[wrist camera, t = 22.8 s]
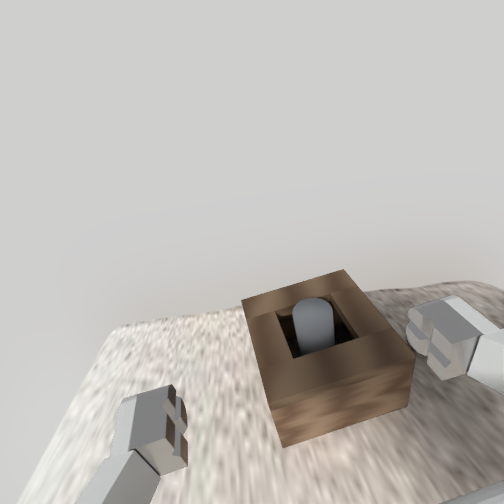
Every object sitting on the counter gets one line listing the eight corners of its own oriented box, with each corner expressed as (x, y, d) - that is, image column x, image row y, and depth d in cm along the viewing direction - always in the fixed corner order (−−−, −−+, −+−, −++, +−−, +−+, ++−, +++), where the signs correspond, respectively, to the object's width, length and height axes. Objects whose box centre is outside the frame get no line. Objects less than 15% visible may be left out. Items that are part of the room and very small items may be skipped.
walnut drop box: (345, 315, 49) (343, 269, 43) (407, 406, 35) (415, 355, 30) (254, 343, 48) (241, 300, 42) (282, 448, 34) (268, 403, 29)
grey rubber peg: (328, 351, 44) (322, 293, 37) (343, 379, 39) (339, 319, 33) (298, 361, 43) (287, 304, 37) (310, 390, 39) (300, 332, 33)
